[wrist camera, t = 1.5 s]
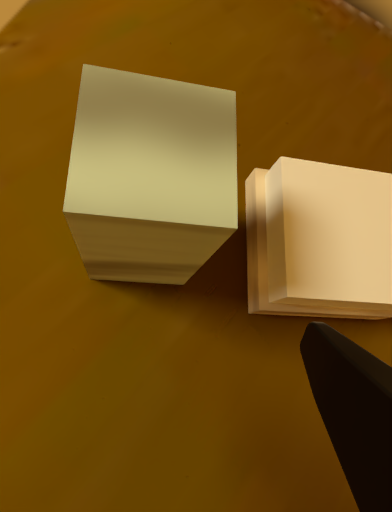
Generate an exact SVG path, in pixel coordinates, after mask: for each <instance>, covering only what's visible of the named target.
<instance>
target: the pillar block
mask: <svg viewBox="0 0 392 512" xmlns="http://www.w3.org/2000/svg"><path fill="white" fill-rule="evenodd" d="M63 213H64V215H65V218H66V220H67V223H68V225H69V228H70V230H71V233H72V235H73V238H74V240H75V243H76V245H77V248H78V250H79V253H80V256H81V258H82V261H83V263H84V266H85V268H86V271H87V273H88V276H89V278H90V279H95V280H111V281H128V282H144V283H161V284H177V285H184V284H185V283H186V282H187V281H188V280H189V279H190V278H191V277H192V276H193V274H194V273H195V272H196V271H197V270H198V269H199V268H200V267H201V266H202V265H203V264H204V263H205V262H206V261H207V260H208V259H209V258H210V257H211V256H212V255H213V254H214V253H215V252H216V251H217V250H218V249H219V248H220V246H221V245H222V244H223V243H224V242H225V241H226V240H227V239H228V238H229V237H230V236H231V235H232V234H233V233H234V232H235V231H236V230H237V229H238V213H237V150H236V92H235V91H230V90H224V89H219V88H213V87H208V86H202V85H197V84H191V83H186V82H180V81H175V80H169V79H164V78H158V77H153V76H147V75H142V74H136V73H131V72H125V71H120V70H115V69H109V68H104V67H98V66H93V65H87V64H83V70H82V77H81V84H80V91H79V99H78V106H77V113H76V121H75V128H74V135H73V142H72V150H71V157H70V164H69V172H68V179H67V186H66V193H65V201H64V208H63Z"/></svg>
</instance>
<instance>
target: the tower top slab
mask: <svg viewBox="0 0 392 512" xmlns="http://www.w3.org/2000/svg"><path fill="white" fill-rule="evenodd" d="M265 198H266V231H267V264H268V297H269V303H280V304H296V305H312V306H328V307H344V308H360V309H376V310H392V174H389V173H383V172H376V171H370V170H364V169H357V168H351V167H345V166H338V165H332V164H326V163H319V162H313V161H307V160H300V159H294V158H288V157H280V158H279V159H278V160H277V162H276V163H275V164H274V165H273V166H272V168H271V169H270V170H269V171H268V172H267V173H266V175H265Z"/></svg>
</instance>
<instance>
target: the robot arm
mask: <svg viewBox="0 0 392 512" xmlns="http://www.w3.org/2000/svg"><path fill="white" fill-rule="evenodd" d="M300 351H301V355H302V359H303V362H304V365H305V369H306V372H307V376H308V379H309V383H310V386H311V389H312V393H313V396H314V399H315V402H316V404H317V407H318V409H319V412H320V414H321V417H322V419H323V422H324V424H325V427H326V429H327V432H328V434H329V437H330V439H331V442H332V444H333V447H334V449H335V452H336V454H337V456H338V459H339V461H340V464H341V466H342V469H343V471H344V474H345V476H346V479H347V481H348V484H349V486H350V489H351V491H352V494H353V496H354V499H355V501H356V503H357V506H358V508H359V511H360V512H392V367H390V366H389V365H387V364H386V363H384V362H383V361H381V360H380V359H378V358H377V357H375V356H374V355H372V354H371V353H369V352H368V351H366V350H365V349H363V348H362V347H360V346H359V345H357V344H356V343H354V342H353V341H351V340H350V339H348V338H347V337H345V336H344V335H342V334H341V333H339V332H338V331H336V330H335V329H333V328H332V327H330V326H329V325H327V324H326V323H323V322H310V323H309V324H308V326H307V328H306V330H305V333H304V335H303V338H302V340H301V343H300Z"/></svg>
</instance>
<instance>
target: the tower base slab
mask: <svg viewBox="0 0 392 512" xmlns="http://www.w3.org/2000/svg"><path fill="white" fill-rule="evenodd" d="M268 171H269V170H266V169H258V168H255V169H254V170H253V171H252V173H251V174H250V176H249V177H248V178H247V180H246V181H245V185H246V232H247V279H248V313H249V314H270V315H291V316H312V317H333V318H355V319H376V320H377V319H385V318H392V310H376V309H360V308H344V307H328V306H312V305H296V304H280V303H269V297H268V264H267V231H266V198H265V175H266V173H267V172H268Z"/></svg>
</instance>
